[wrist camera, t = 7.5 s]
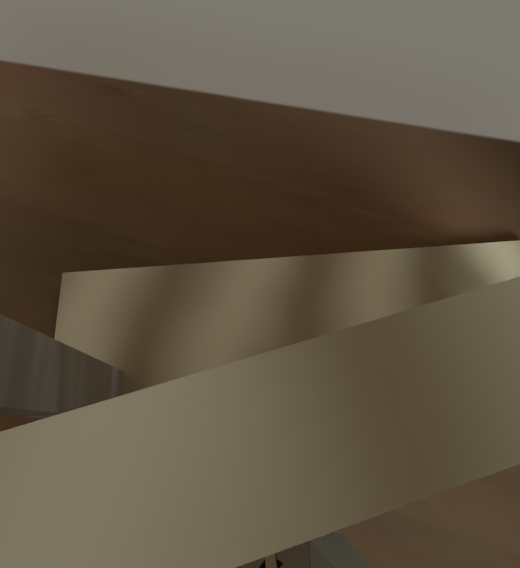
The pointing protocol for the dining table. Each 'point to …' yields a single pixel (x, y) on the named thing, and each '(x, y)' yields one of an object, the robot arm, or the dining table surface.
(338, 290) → the wooden stand
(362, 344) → the gate
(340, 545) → the robot arm
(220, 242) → the dining table surface
